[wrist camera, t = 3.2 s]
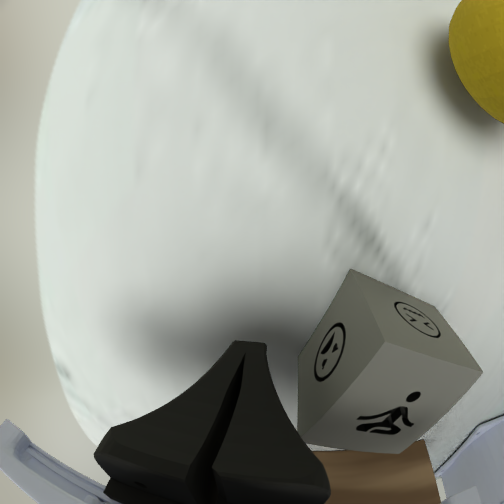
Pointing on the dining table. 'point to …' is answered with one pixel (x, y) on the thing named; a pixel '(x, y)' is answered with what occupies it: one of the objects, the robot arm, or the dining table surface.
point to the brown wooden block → (381, 476)
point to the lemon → (480, 52)
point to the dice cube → (379, 370)
